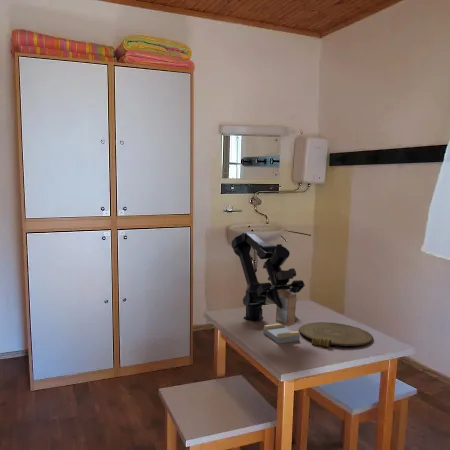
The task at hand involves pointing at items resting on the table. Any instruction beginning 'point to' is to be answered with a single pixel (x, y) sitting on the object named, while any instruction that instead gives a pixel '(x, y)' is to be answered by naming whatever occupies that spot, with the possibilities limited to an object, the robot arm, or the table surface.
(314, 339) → the decorative disc
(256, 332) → the table surface
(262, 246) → the robot arm
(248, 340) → the table surface
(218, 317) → the table surface
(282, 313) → the wooden box
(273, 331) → the rail board
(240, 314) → the table surface
